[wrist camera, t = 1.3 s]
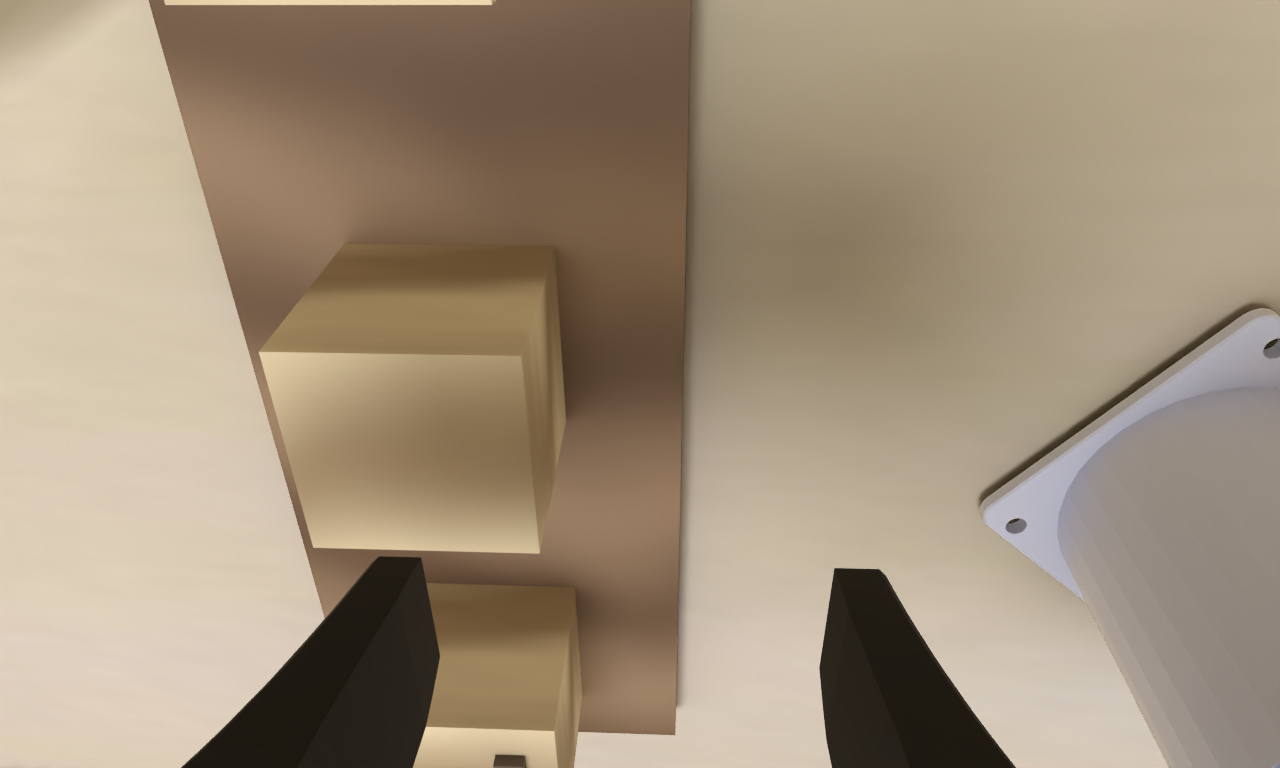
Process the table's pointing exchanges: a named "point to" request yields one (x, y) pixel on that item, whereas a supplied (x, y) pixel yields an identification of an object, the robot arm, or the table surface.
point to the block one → (329, 2)
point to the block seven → (503, 678)
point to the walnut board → (483, 215)
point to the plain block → (423, 397)
